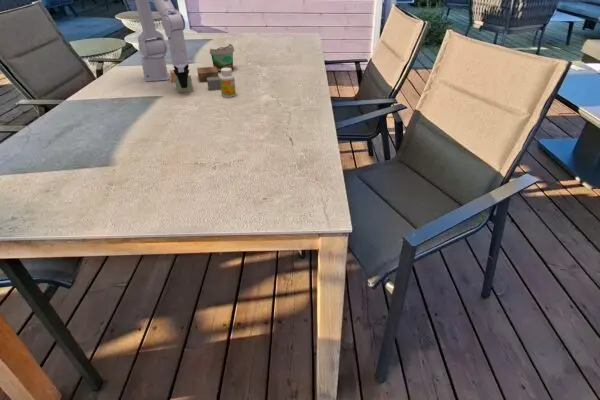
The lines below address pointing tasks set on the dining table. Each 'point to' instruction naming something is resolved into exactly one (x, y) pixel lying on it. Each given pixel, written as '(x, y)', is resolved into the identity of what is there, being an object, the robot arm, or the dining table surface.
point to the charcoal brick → (214, 83)
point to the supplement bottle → (227, 83)
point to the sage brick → (180, 89)
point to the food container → (222, 57)
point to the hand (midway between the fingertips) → (184, 85)
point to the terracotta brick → (172, 75)
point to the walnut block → (206, 73)
